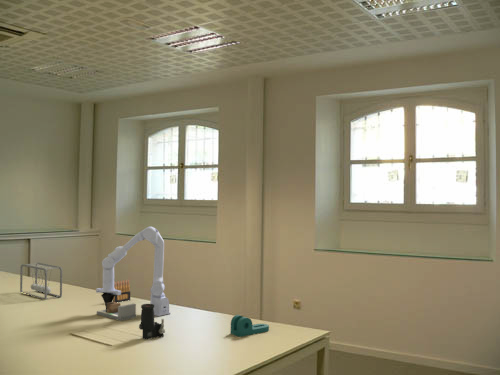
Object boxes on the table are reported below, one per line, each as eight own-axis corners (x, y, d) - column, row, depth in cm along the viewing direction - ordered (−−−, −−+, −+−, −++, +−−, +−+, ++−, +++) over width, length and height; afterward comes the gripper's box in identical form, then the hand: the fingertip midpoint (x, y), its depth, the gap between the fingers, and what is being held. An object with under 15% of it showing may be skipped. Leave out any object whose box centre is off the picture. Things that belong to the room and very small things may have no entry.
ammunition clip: (114, 303, 293) (114, 281, 293) (112, 302, 294) (112, 280, 294) (130, 300, 301) (130, 279, 301) (128, 299, 302) (128, 278, 302)
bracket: (239, 337, 226) (240, 318, 226) (230, 334, 232) (230, 315, 232) (271, 331, 237) (272, 313, 238) (262, 327, 243) (262, 310, 243)
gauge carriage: (120, 311, 264) (120, 302, 264) (109, 313, 259) (109, 304, 259) (114, 309, 268) (114, 301, 268) (103, 312, 262) (103, 303, 262)
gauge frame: (136, 317, 259) (136, 304, 259) (120, 320, 252) (121, 307, 252) (111, 311, 272) (112, 298, 272) (96, 314, 265) (96, 301, 265)
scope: (165, 304, 225) (145, 308, 218) (165, 337, 225) (145, 341, 217) (154, 301, 230) (134, 305, 223) (153, 333, 230) (134, 338, 223)
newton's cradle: (19, 293, 317) (20, 263, 317) (36, 291, 325) (36, 262, 325) (45, 300, 298) (45, 268, 298) (62, 297, 306) (62, 267, 306)
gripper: (125, 280, 267) (124, 307, 267) (102, 278, 274) (102, 304, 274) (115, 282, 261) (115, 310, 261) (93, 280, 267) (92, 307, 267)
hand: (108, 307), depth 267 cm, fingers closed
